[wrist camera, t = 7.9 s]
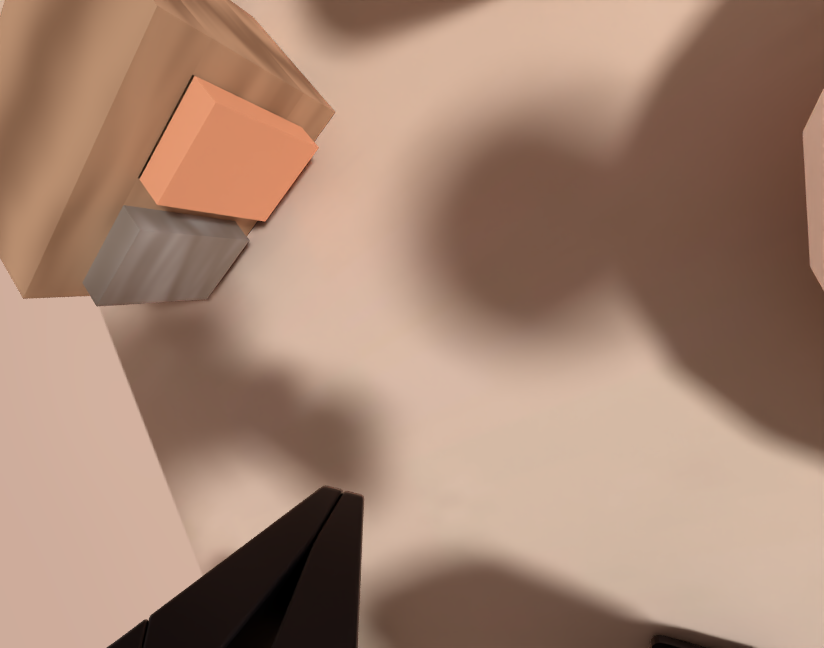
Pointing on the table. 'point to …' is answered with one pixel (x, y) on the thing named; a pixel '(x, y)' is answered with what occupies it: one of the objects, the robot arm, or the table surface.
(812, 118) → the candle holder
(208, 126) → the plug
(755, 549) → the table surface
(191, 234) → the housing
